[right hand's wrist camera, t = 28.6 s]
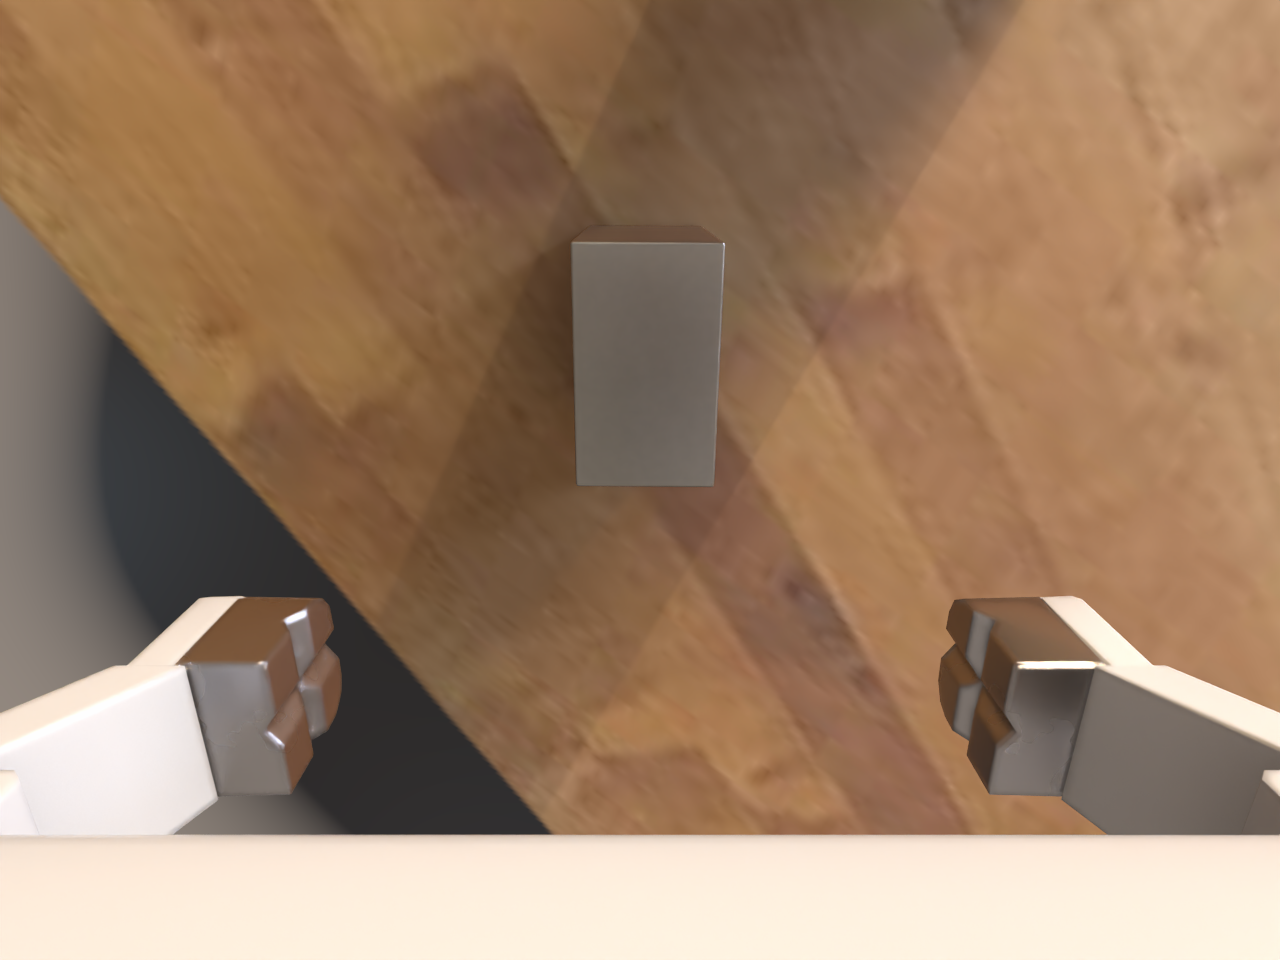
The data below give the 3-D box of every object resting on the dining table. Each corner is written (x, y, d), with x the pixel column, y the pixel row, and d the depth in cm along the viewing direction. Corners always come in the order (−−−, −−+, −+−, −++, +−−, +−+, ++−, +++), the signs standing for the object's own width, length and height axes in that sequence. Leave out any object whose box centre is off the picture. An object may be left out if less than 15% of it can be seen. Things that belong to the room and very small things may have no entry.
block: (591, 412, 35) (575, 487, 26) (588, 225, 32) (570, 241, 23) (696, 413, 35) (714, 488, 26) (703, 226, 32) (725, 242, 23)
